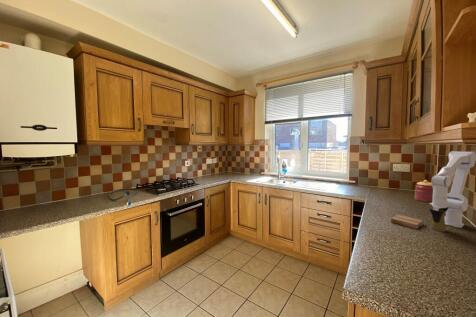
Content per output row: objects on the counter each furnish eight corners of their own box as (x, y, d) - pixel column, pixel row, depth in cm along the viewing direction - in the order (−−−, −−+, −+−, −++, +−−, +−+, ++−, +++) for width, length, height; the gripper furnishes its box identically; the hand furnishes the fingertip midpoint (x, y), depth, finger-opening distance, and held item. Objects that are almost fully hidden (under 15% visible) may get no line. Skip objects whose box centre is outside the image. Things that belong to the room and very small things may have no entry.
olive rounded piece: (430, 226, 116) (431, 207, 116) (445, 228, 113) (446, 209, 112) (431, 229, 112) (432, 210, 111) (446, 232, 108) (448, 212, 107)
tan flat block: (398, 218, 129) (398, 214, 129) (422, 224, 119) (423, 220, 119) (390, 222, 122) (391, 218, 122) (416, 229, 112) (416, 224, 112)
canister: (437, 203, 160) (438, 181, 159) (416, 201, 167) (417, 180, 166) (432, 199, 171) (433, 179, 170) (412, 197, 178) (413, 178, 177)
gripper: (433, 193, 118) (432, 215, 119) (426, 197, 110) (424, 221, 111) (450, 196, 112) (449, 219, 113) (444, 200, 104) (442, 225, 105)
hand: (438, 220), depth 112 cm, fingers open, 7 cm apart
